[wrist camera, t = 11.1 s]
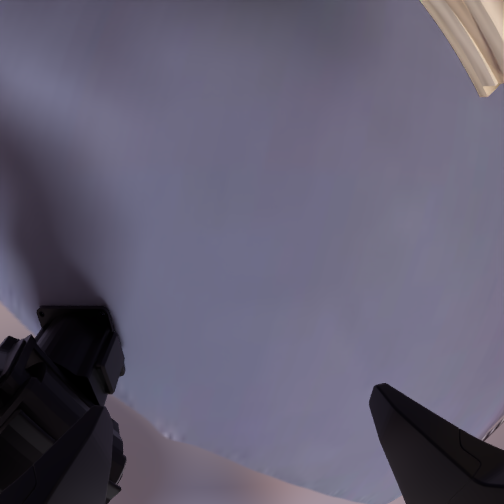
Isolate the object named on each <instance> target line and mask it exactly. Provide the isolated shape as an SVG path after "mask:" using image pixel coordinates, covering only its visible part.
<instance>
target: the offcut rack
mask: <svg viewBox="0 0 504 504" xmlns="http://www.w3.org/2000/svg"><path fill="white" fill-rule="evenodd" d="M420 2H421V3H422V4H423V5H424V7H425V8H426V9H427V11H428V12H429V13H430V15H431V16H432V18H433V19H434V20H435V22H436V23H437V25H438V26H439V28H440V29H441V31H442V32H443V34H444V35H445V37H446V38H447V40H448V41H449V43H450V44H451V46H452V47H453V49H454V51H455V52H456V54H457V56H458V57H459V59H460V61H461V62H462V64H463V66H464V68H465V69H466V71H467V73H468V75H469V77H470V79H471V80H472V82H473V84H474V86H475V88H476V90H477V92H478V94H479V96H480V97H488V96H489V95H490V94H491V93H492V92H493V91H494V90H495V89H496V88H497V87H498V86H499V85H500V84H503V83H504V0H420Z"/></svg>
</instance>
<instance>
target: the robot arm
mask: <svg viewBox="0 0 504 504" xmlns="http://www.w3.org/2000/svg"><path fill="white" fill-rule="evenodd" d="M41 311H42V312H43V313H44V314H43V313H42V312H41ZM100 312H103V313H104V314H105V315H102V314H101V313H100ZM37 315H38V318H39V321H40V324H41V327H42V329H41V330H40V332H39V333H38V334H37V336H36V337H35V339H34V337H33V336H32V335H29V336H27V337H26V338H25V339H21V340H19V339H16V338H13V337H11V336H8V337H7V338H6V339H4V341H3V342H2V343H1V344H0V504H108V503H109V501H110V500H111V499H112V498H113V497H114V496H116V495H117V494H118V493H119V492H120V491H121V487H120V486H118V485H117V484H118V483H119V481H120V479H121V477H122V474H123V471H124V469H125V465H126V456H125V455H123V441H122V439H121V437H120V434H119V427H118V423H117V422H116V421H114V420H113V419H111V417H110V414H109V412H108V410H107V408H106V407H105V406H104V404H105V401H106V398H107V395H108V394H113V393H114V391H115V388H116V385H117V382H118V378H119V376H123V375H124V373H125V367H124V359H125V358H124V355H123V351H122V348H121V344H120V341H119V337H118V334H117V333H116V332H114V328H113V324H112V320H111V317H110V312H109V310H108V309H107V308H106V307H104V306H40V307H39V309H38V310H37ZM369 406H370V410H371V413H372V417H373V420H374V423H375V427H376V430H377V433H378V437H379V440H380V443H381V445H382V448H383V450H384V452H385V455H386V457H387V459H388V462H389V464H390V466H391V469H392V471H393V474H394V476H395V478H396V481H397V483H398V486H399V488H400V490H401V493H402V495H403V498H404V500H405V503H406V504H504V450H502V449H499V448H497V447H494V446H492V445H490V444H488V443H486V442H484V441H482V440H480V439H477V438H476V437H474V436H472V435H470V434H468V433H467V432H465V431H463V430H462V429H459V428H458V427H456V426H455V425H453V424H451V423H450V422H448V421H446V420H445V419H443V418H441V417H440V416H438V415H436V414H435V413H433V412H432V411H430V410H428V409H427V408H425V407H423V406H422V405H420V404H419V403H417V402H415V401H414V400H412V399H411V398H409V397H407V396H406V395H404V394H403V393H401V392H399V391H398V390H396V389H395V388H393V387H391V386H390V385H388V384H386V383H382V384H378V385H375V386H374V388H373V391H372V394H371V397H370V400H369Z"/></svg>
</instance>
